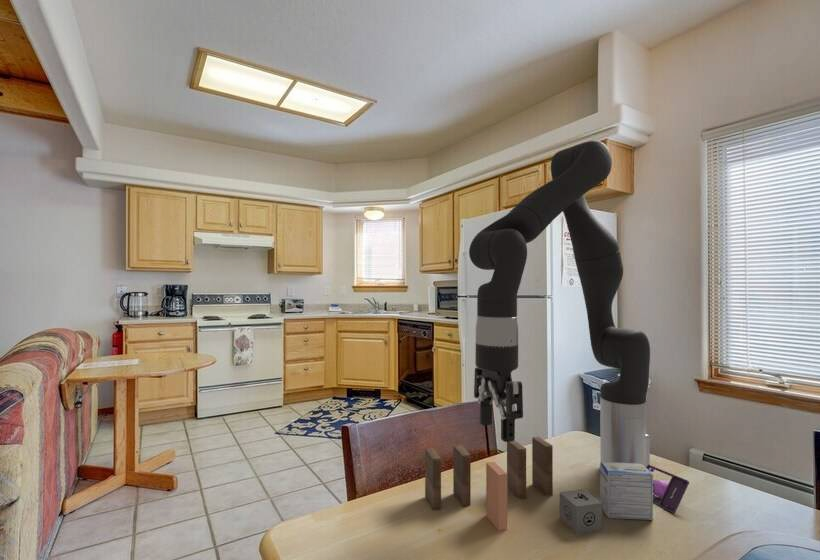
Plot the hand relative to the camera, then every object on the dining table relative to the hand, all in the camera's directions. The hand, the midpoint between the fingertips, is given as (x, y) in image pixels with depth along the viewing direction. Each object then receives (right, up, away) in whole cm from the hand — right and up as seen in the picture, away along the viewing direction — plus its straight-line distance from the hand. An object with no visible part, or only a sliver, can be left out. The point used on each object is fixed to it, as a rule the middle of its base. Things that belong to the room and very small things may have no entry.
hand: (496, 432), depth 74 cm
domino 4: (+6, -17, +11) cm, 21 cm away
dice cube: (+15, -17, 0) cm, 22 cm away
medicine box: (+25, -17, +3) cm, 30 cm away
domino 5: (+12, -17, +12) cm, 24 cm away
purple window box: (+37, -15, +4) cm, 40 cm away
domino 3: (0, -16, 0) cm, 16 cm away
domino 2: (-5, -16, +8) cm, 19 cm away
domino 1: (-11, -16, +6) cm, 21 cm away
